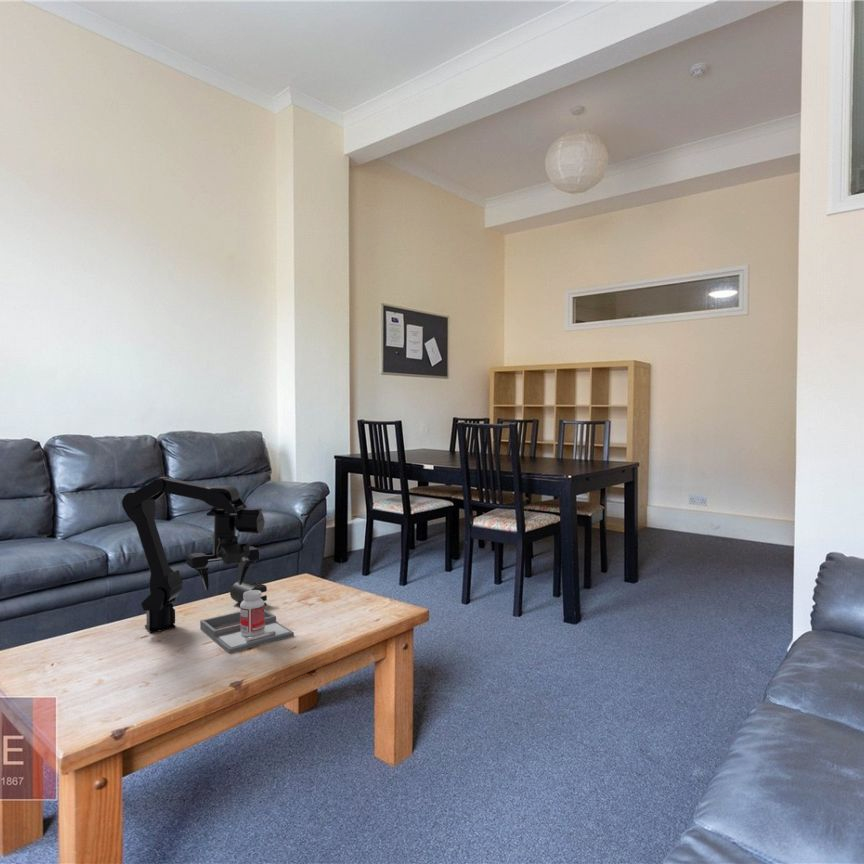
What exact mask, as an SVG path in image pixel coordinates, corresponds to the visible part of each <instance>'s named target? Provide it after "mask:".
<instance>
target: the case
mask: <svg viewBox="0 0 864 864" xmlns="http://www.w3.org/2000/svg"><path fill="white" fill-rule="evenodd" d="M264 618H265V624H266V623H270V622H274V621H277V616H276V615H274V614H273V613H271V612H270V611H268V610H267V609H265V608H264ZM199 622H200V623H199V624H200V628H199V630H201V632H203V633H204V634H205V635H206V636H208V637H209V638H210V639H211V640H213V641H214V636H218V635H222V634H226V633H230V632H234V631H238V630H241V623H238V624H234V625H230V626H226V627H225V626H224V625H228V624H233V623H237V622H241V620H240V611H236V612H232V613H228V614H223V615H222V614H221V615H218V616H214V617H209V618H205V619H201V620H199ZM220 626H224V627H221V628H217V629H216V627H220Z"/></svg>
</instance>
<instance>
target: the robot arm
mask: <svg viewBox="0 0 864 864" xmlns="http://www.w3.org/2000/svg"><path fill="white" fill-rule="evenodd" d="M164 494H170V495H175V496H179V497H185V498H190V499H194V500H198V501H201V502H203V503H205V504H207V505H208V506H211V507H212V508H211V509H210V510H209V511H208V512H207V513H206V516H208V517H210V516H211V517H214V520H213V521H214V522H213V534H212V539H213V548H212V550H211V552H212V554H208V555H207V554H206V553H203V552H195V553H194V552H193V553H189V554H188V555H187V557H186V565H187V566H189V567H190V568H191V569H194V570H195V571H197V573H198V574H199V576H200V579H201V582H202V584H203V587H204V589H205V591H209V570H210V568H209V567H208V566H207V565H208V564H209V563H214V562H219V561H220V562H221V561H223V563H224V564H225V565H232V564H238V566H237V567H238V570H237V571H238V572H237V573H238V575H237V582H239V585H241V584H242V583H244V579H245V577H246V574H247V571H248V570H249V567H250V566H251V565H252V564H255V563H256V561H257V560H260V559H261V550H260V549H259V548H257V547H254V546H252V545H251V546H250V544H249V542H245V543H239V542H238V536H237V535H236V534H237V533H236V532H237V531H238V533H241V534H242V533H246V534H247V533H248V534H262V533H263V531H264V528H265V518H264V514H263V513H262V508H260V507H259V508H248V506H247V505H246V504H245V502H244V501H243V499H242V498H241V497H240V492H239V490H238V489H237V487H236V486H232V485H205V484H200V483H195V482H191V481H185V480H182V479H181V480H180V479H176V478H171V477H168V476H161V477H157V478H155V479H153V480H152V481H151V482H149V483H148V484H145V485H144V486H142V487H141V488H139V489H136V491H130V492H128V493H126V494H125V495H124V496H123V498H122V499H121V507H122V509H123V511H124V513H125V514H126V516H127V518H128V519H129V520H130V521H131V522H132V523H133V524H134V525H135V527H136V530H137V534H138V537H139V540H140V543H141V546H142V549H143V552H144V555H145V559H146V563H147V565H148V568H149V569H148V570H149V572H150V575H149V581H148V583H149V585H148V588H149V593H150V594H149V595H148V596H147V597H146V598H145V599H144V600H143V601H142V602H141V606H142V607H141V608H142V610H143V611H144V612H145V611H146V624H145V625H144V628H145V629H146V630H147V631H148V632H149V633H150V634H151V633H157V632H161V631H166V630H170V629H173V628H174V629H175V628H176V625H175V624H176V609H175V608H174V604H173V603H175V602H176V600H177V597H178V596H179V595H180V594H181V592H182V590H183V584H184V581H183V579H182V578H181V573H180V570H179V569H176V570H175V571H174V570H173V569H172V568H171V567H170V565H169V562H168V560H167V556H166V553H165V550H164V546H163V543H162V540H161V536H160V533H159V530H158V528H157V523H156V521H155V515H156V508H157V507H156V506H157V505H156V501H157V500H158V499H160V498H161V497H162V496H163V495H164Z"/></svg>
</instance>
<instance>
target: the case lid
mask: <svg viewBox="0 0 864 864" xmlns="http://www.w3.org/2000/svg"><path fill="white" fill-rule="evenodd" d="M272 631H275V632H276V634H275V635H272V636H269V637H265V638H261V639H257V640H253V641H250V642H245V638H249V637H246V636H242V635H241V630H238V631H234V632H230V633H226V634H222V635H218V636H214V640H213V642H215V643H216V644H217V645H218V646H220V647H221V648H222V649H224V650H225V651H226V652H227V653H228V654H232V653H236V652H240V651H244V650H247V649H251V648H255V647H259V646H262V645H266V644H269V643H273V642H277V641H279V640H280V641H281V640H284V639H288V638H291V637H295V635H294V631H292V630H291V629H289V628H287V627H286V626H285V625H282V624H281V623H280V622H278V621H277V620H276V621H274V622H270V623H266V624H265V630H264V632H263V633H262V634H265V633H268V632H272Z"/></svg>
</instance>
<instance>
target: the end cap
mask: <svg viewBox="0 0 864 864" xmlns="http://www.w3.org/2000/svg"><path fill="white" fill-rule="evenodd" d="M256 583H257V582H255V581H253V580H250V581H249V580H248V581H246V582H242V584H241V585H239V582H238V581H236V582H235V583H233V584H232V586H231V587H230V590H229V591H230V592H229V594H230V598H231V599H232V600H233V601H235V602H236V603H239V604H241V602H242V601H243V600H244V599H243V593H244V592H246V591H250V590H260V591H261V594H262V593H266V592H267V589H268V587H267V585H265V584H263V583H259V584H256ZM255 584H256V585H255ZM267 597H268V595H262V596H261V598H260V599H262V600H263V601H264V606H267V603H266V601H267V600H268V599H267Z"/></svg>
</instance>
